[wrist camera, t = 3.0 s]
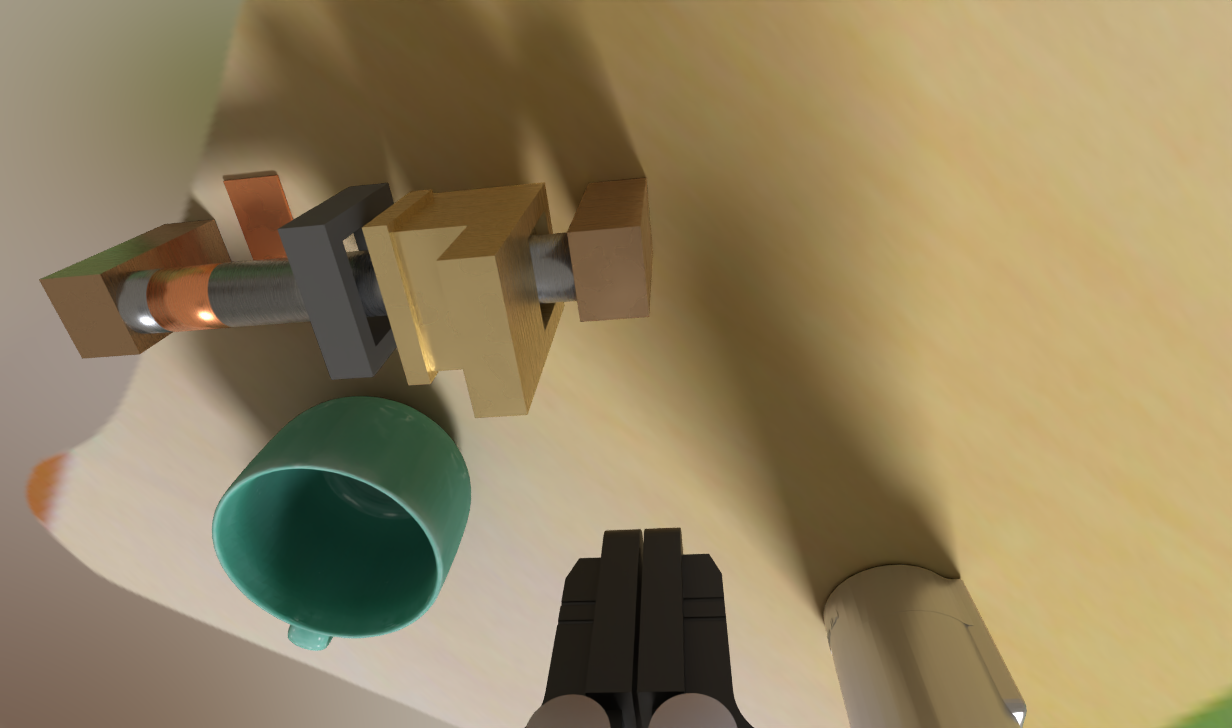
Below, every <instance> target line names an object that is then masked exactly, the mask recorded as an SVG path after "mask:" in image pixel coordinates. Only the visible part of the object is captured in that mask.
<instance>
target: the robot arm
mask: <svg viewBox="0 0 1232 728" xmlns="http://www.w3.org/2000/svg"><path fill="white" fill-rule="evenodd" d="M561 602H562V606H561V607H560V613H559V618H558V625H557V630H556V635H555V641H554V647H553V652H552V658H551V664H550V669H549V675H548V681H547V686H546V692H545V696H544V700H543V703H542V705H541V707H540V708H539V709H538V710H537V711H536V712H535V713H534V714H533V715H532V717H531V718H530V720H529V722H528V724H527V726H526V727H525V728H754V727H752V726H751V725H750V724H749V723H748V722H747V721H746V719H745V718H744V717H743V715H742V714H741V713H740V711H739V709H738V707H737V705H736V702H735V699H734V694H733V686H732V675H731V665H730V655H729V644H728V634H727V623H726V613H725V603H724V592H723V582H722V573H721V572H720V570H719V569H718V567H717V566H716V564H715V562H714V561H713V559H712V558H711V556H710V555H709V554H689V555H683V546H682V534H681V528H657V529H645V530H644V544H643V536H642V531H641V529H635V530H609V531H605V532H604V537H603V545H602V554H601V558H579V560H578V561H577V563H576V564H575V566H574V567H573V568H572V570H571V571H570V573H569V574H568V576H567V577H566V579H565V584H564V590H563V596H562V601H561ZM823 616H824V624H825V628H826V632H827V637H828V643H829V646H830V650H831V653H832V656H833V660H834V664H835V667H836V672H837V676H838V680H839V684H840V688H841V692H842V695H843V699H844V703H845V707H846V711H847V715H848V719H849V723H850V727H851V728H1022V727H1023V723H1024V719H1025V716H1026V711H1027V710H1026V704H1025V702H1024V700H1023V698H1022V696H1021V694H1020V692H1019V690H1018V688H1017V686H1016V684H1015V682H1014V680H1013V678H1012V676H1011V674H1010V672H1009V670H1008V668H1007V666H1006V664H1005V662H1004V660H1003V658H1002V656H1001V655H1000V653H999V651H998V649H997V647H996V645H995V643H994V641H993V639H992V637H991V635H990V633H989V631H988V629H987V627H986V625H985V623H984V621H983V619H982V617H981V615H980V613H979V612H978V610H977V608H976V606H975V604H974V602H973V600H972V598H971V596H970V594H969V592H968V590H967V588H966V586H965V584H964V582H963V580H961V579H946V578H944V577H941V576H940V575H938V574H936V573H934V572H932V571H930V570H927V569H924V568H920V567H917V566H909V565H886V566H880V567H874V568H871V569H868V570H865V571H862V572H859V573H858V574H856V575H854V576H852V577H850V578H848V579H847V580H845V581H844V582H843V583H841V584H840V585H839V586H837V588H836V589H835V590H834V591H833V592H832V593H831V595H830V596H829V598H828V600H827V602H826V604H825V608H824V613H823Z"/></svg>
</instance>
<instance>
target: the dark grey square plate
mask: <svg viewBox="0 0 1232 728" xmlns="http://www.w3.org/2000/svg"><path fill="white" fill-rule="evenodd" d="M393 204H394V202H393V199H392V195H391V191H390V188H389V184H388V183H381V184H371V185H361V186H351V187H348V188H346V189H345V190H343V191H341V192H340V193H338V194H336V195H335V196H333V197H331V198H329V199H328V200H326V201H324V202H323V203H321V204H319V205H318V206H316V207H314V208H312V209H311V210H309V211H307V212H306V213H304V214H302V215H300V216H299V217H297V218H295V219H294V220H292V221H290V222H289V223H287V224H285V225H283V226H282V227H280V228H278V229H277V230H278V233H279V235H280V238H281V241H282V244H283V247H284V249H285V252H286V255H287V258H288V260H289V263H290V266H291V269H292V272H293V274H294V277H295V280H296V283H297V286H298V288H299V291H300V294H301V297H302V299H303V302H304V305H305V308H306V311H307V313H308V316H309V319H310V322H311V324H312V327H313V330H314V333H315V336H316V338H317V341H318V344H319V347H320V350H321V352H322V355H323V358H324V361H325V363H326V366H327V369H328V372H329V375H330V377H331V380H334V379H349V378H364V377H374V376H375V374H376V373H377V372H378V370H379V369H380V368H381V367H382V365H383V364H384V363H385V361H386V360H387V359H388V358H389V356H390V355H391V354H392V352H393V351H394V350H395V349H396V347H397V345H396V342H395V338H394V335H393V332H392V328H391V325H390V321H389V318H388V315H386V316H373V317H366V314H365V311H364V308H363V305H362V302H361V298H360V295H359V292H358V289H357V286H356V283H355V279H354V276H353V273H352V270H351V267H350V263H349V260H348V257H347V254H346V251H345V248H344V244H343V240H344V239H346V238H347V237H348V236H350V235H351V234H352V233H354V236H355V239H356V243H357V246H358V249H359V251H364V250H368V247H367V244H366V240H365V237H364V234H363V230H362V227H363V226H365V225H366V224H367V223H369V222H370V221H371V220H373V219H374V218H375V217H377V216H378V215H379V214H381V213H382V212H384V211H385V210H386V209H388V208H389V207H390V206H392V205H393Z"/></svg>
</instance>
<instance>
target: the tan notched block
mask: <svg viewBox="0 0 1232 728" xmlns="http://www.w3.org/2000/svg"><path fill="white" fill-rule="evenodd" d="M362 230H363V234H364V237H365V240H366V244H367V247H368V251H369V254H370V257H371V261H372V264H373V267H374V271H375V274H376V278H377V281H378V284H379V288H380V291H381V294H382V298H383V301H384V305H385V308H386V311H387V315H388V318H389V321H390V325H391V328H392V332H393V335H394V338H395V342H396V345H397V348H398V352H399V355H400V359H401V362H402V365H403V369H404V372H405V375H406V379H407V382H408V385H422V384H431V383H432V381H433V379H434V378H435V376H436V375H437V373H438V371H444V370H459V369H463V371H464V375H465V379H466V383H467V387H468V391H469V395H470V399H471V403H472V407H473V411H474V415H475V418H483V417H500V416H517V415H527V414H528V411H529V408H530V405H531V403H532V400H533V397H534V394H535V391H536V388H537V385H538V382H539V379H540V376H541V373H542V370H543V367H544V364H545V361H546V358H547V355H548V352H549V350H550V347H551V344H552V341H553V338H554V335H555V332H556V329H557V326H558V323H559V320H560V317H561V314H562V311H563V308H564V302H555V303H542V304H540V303H539V298H538V292H537V286H536V281H535V275H534V270H533V264H532V258H531V253H530V247H529V241H528V237H529V236H533V235H544V234H553V231H552V224H551V218H550V212H549V206H548V199H547V193H546V187H545V182H543V183H533V184H523V185H512V186H502V187H492V188H482V189H472V190H461V191H451V192H441V193H433V191H432V189H429V190H419V191H411V192H409V193H408V194H407V195H405V196H404V197H403V198H401V199H400V200H399V201H397V202H396V203H394V204H393V205H392V206H390V207H389V208H388V209H386V210H385V211H384V212H382V213H381V214H379V215H378V216H377V217H375V218H374V219H373V220H371V221H370V222H369V223H367V224H366V225H365V226H363V227H362Z"/></svg>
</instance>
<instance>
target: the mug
mask: <svg viewBox="0 0 1232 728" xmlns="http://www.w3.org/2000/svg"><path fill="white" fill-rule="evenodd" d="M470 504H471V485H470V477H469V473H468V470H467V466H466V464H465V461H464V459H463V456H462V454H461V452H460V451H459V449H458V447H457V446H456V445H455V443H454V442H453V440H452V439H451V438H450V437H449V435H448V434H447V433H446V432H445V431H444V430H443V429H442V428H441V427H440V426H439V425H437V424H436V423H435V422H434V421H432V420H431V419H430V418H428V417H427V416H426V415H424V414H422V413H421V412H419V411H417V410H415V409H414V408H412V407H409V406H407V405H405V404H402V403H399V402H396V401H392V400H388V399H384V398H378V397H369V396H352V397H344V398H338V399H333V400H330V401H327V402H324V403H321V404H319V405H316V406H314V407H312V408H310V409H308V410H306V411H305V412H303V413H301V414H300V415H298V416H297V417H296V418H294V419H293V420H292V421H290V422H289V423H288V424H287V425H286V426H285V427H284V428H283V429H281V430H280V431H279V432H278V433H277V434H276V435H275V436H274V437H273V438H272V439H271V440H270V441H269V443H268V444H267V445H266V446H265V447H264V448H263V449H262V450H261V451H260V452H259V453H258V454H257V456H256V457H255V458H254V459H253V460H252V461H251V462H250V463H249V465H248V466H247V467H246V468H245V469H244V470H243V471H242V473H241V474H240V475H239V476H238V477H237V479H236V480H235V481H234V482H233V483H232V485H231V486H230V487H229V488H228V490H227V491H226V492H225V494H224V495H223V497H222V498H221V500H220V501H219V503H218V505H217V507H216V510H215V513H214V517H213V523H212V539H213V544H214V548H215V551H216V554H217V557H218V559H219V561H220V564H221V566H222V567H223V569H224V571H225V572H226V574H227V575H228V577H229V578H230V579H231V581H232V582H233V583H234V584H235V585H236V587H237V588H238V589H239V590H240V591H241V592H242V593H243V594H244V595H245V596H246V597H247V598H248V599H250V600H251V601H252V602H253V603H255V604H256V605H257V606H259V607H260V608H262V609H263V610H265V611H266V612H268V613H269V614H271V615H273V616H274V617H276V618H278V619H280V620H282V621H284V622H286V623H288V624H290V627H289V630H288V638H289V640H290V641H291V642H292V643H294V644H295V645H297V646H299V647H301V648H304V649H308V650H323V649H325V648H326V647H327V646H328V645H329V643H330V642H331V640H332V638H333V637H341V638H366V637H374V636H380V635H384V634H388V633H392V632H395V631H398V630H400V629H402V628H404V627H406V626H408V625H410V624H411V623H413V622H415V621H416V620H417V619H419V618H420V617H421V616H422V615H423V614H425V613H426V612H427V611H428V609H429V608H430V607H431V606H432V605H433V603H434V602H435V600H436V598H437V596H438V594H439V592H440V590H441V588H442V586H443V583H444V581H445V579H446V577H447V574H448V572H449V569H450V567H451V565H452V562H453V560H454V557H455V555H456V553H457V550H458V547H459V544H460V541H461V539H462V536H463V533H464V530H465V527H466V523H467V520H468V516H469V511H470Z"/></svg>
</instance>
